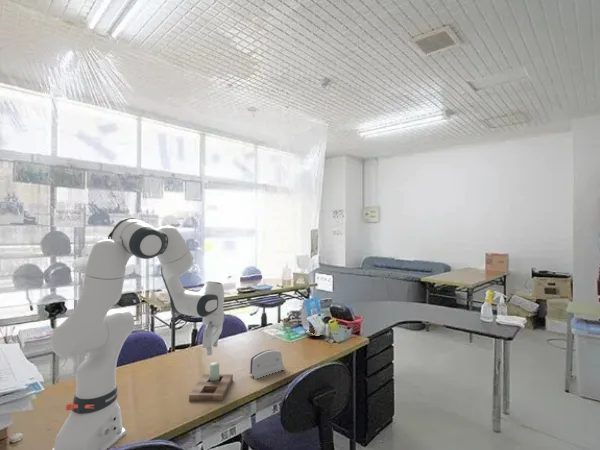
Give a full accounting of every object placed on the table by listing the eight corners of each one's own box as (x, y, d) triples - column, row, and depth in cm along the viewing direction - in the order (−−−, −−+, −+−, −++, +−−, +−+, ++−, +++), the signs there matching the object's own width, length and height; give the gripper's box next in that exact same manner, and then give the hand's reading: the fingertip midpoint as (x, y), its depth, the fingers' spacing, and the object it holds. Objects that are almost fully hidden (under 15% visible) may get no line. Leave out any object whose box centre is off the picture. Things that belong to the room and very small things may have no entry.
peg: (218, 387, 141) (218, 366, 141) (208, 387, 141) (208, 366, 141) (220, 382, 145) (220, 362, 145) (210, 382, 145) (210, 362, 145)
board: (222, 401, 130) (222, 395, 130) (189, 401, 130) (189, 395, 130) (232, 380, 148) (232, 374, 148) (203, 379, 148) (203, 374, 148)
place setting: (298, 335, 208) (298, 326, 208) (308, 326, 227) (308, 317, 227) (325, 339, 202) (325, 329, 202) (333, 329, 221) (333, 320, 221)
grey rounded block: (254, 379, 148) (253, 356, 149) (249, 376, 152) (247, 354, 153) (285, 369, 158) (283, 348, 159) (279, 367, 162) (278, 346, 163)
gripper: (214, 326, 134) (214, 360, 134) (225, 312, 154) (224, 342, 154) (198, 326, 134) (198, 360, 134) (211, 312, 154) (211, 341, 154)
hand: (212, 350), depth 144 cm, fingers open, 8 cm apart
